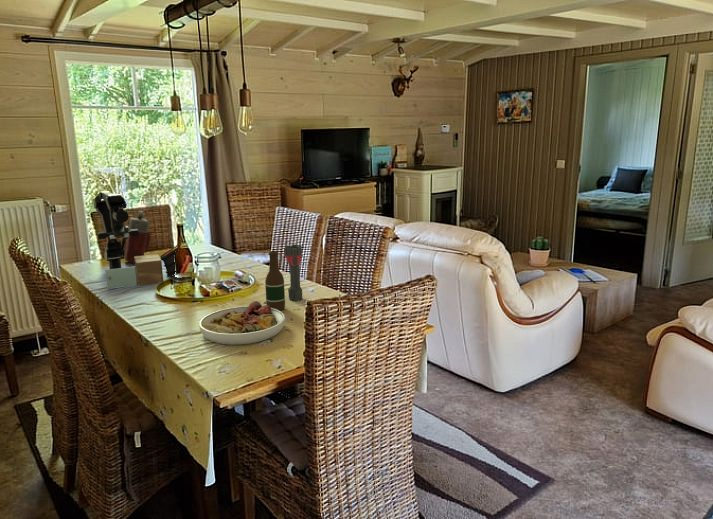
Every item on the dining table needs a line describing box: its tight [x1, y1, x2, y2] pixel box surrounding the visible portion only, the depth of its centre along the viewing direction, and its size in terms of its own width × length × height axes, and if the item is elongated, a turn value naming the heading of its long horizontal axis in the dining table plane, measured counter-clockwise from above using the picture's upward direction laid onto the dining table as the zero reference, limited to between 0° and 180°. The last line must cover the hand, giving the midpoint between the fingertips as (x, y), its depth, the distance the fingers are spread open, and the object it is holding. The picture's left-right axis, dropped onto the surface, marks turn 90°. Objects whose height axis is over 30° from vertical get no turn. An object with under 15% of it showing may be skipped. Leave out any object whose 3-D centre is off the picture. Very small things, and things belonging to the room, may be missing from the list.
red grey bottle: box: [124, 210, 151, 263], centre depth 300 cm, size 9×11×28 cm
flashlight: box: [283, 244, 303, 302], centre depth 230 cm, size 8×8×23 cm
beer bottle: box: [264, 250, 286, 312], centre depth 215 cm, size 8×8×24 cm
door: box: [104, 265, 139, 290], centre depth 250 cm, size 13×2×9 cm, turn 119°
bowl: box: [198, 300, 286, 346], centre depth 193 cm, size 30×30×8 cm
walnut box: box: [134, 254, 164, 286], centre depth 262 cm, size 15×11×11 cm
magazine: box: [159, 245, 177, 278], centre depth 272 cm, size 4×13×15 cm, turn 131°
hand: (120, 251), depth 269 cm, fingers closed
